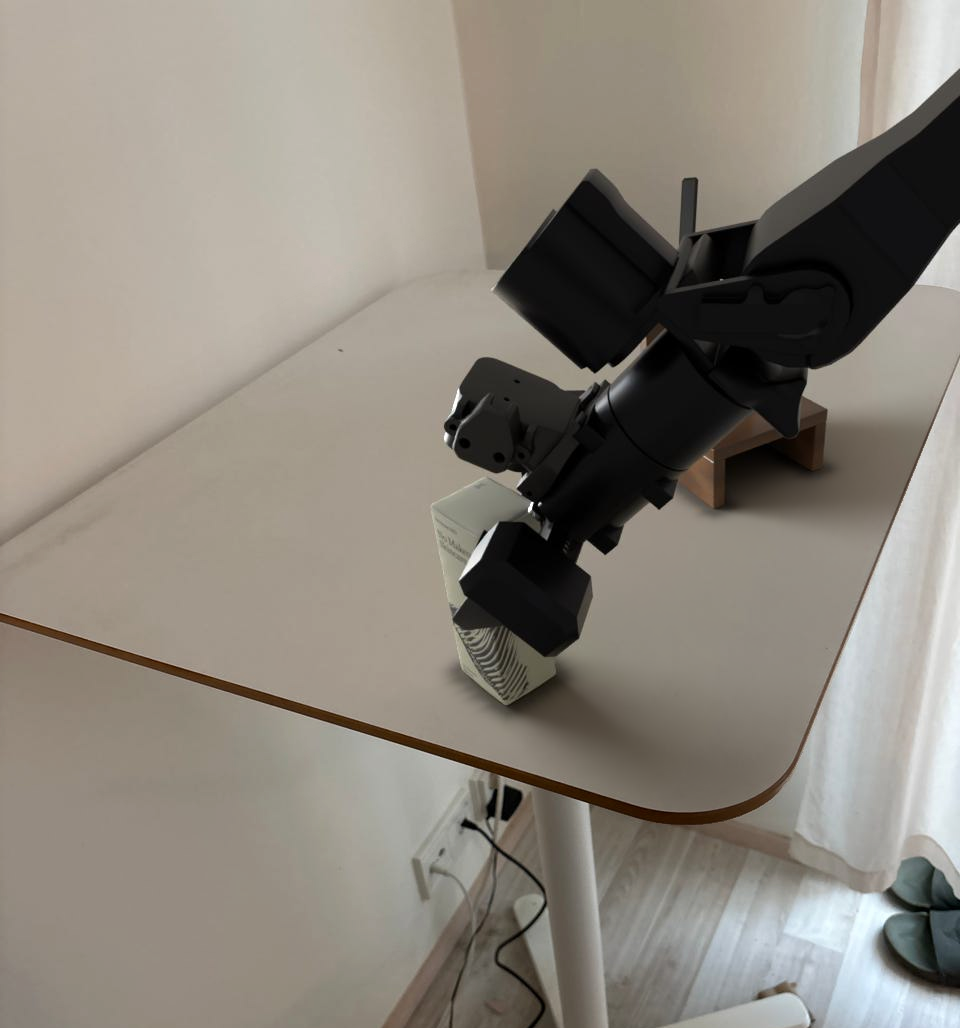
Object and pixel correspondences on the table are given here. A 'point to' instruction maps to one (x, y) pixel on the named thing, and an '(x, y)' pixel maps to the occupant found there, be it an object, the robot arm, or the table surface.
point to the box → (482, 652)
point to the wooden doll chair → (753, 445)
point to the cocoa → (688, 206)
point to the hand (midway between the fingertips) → (475, 590)
